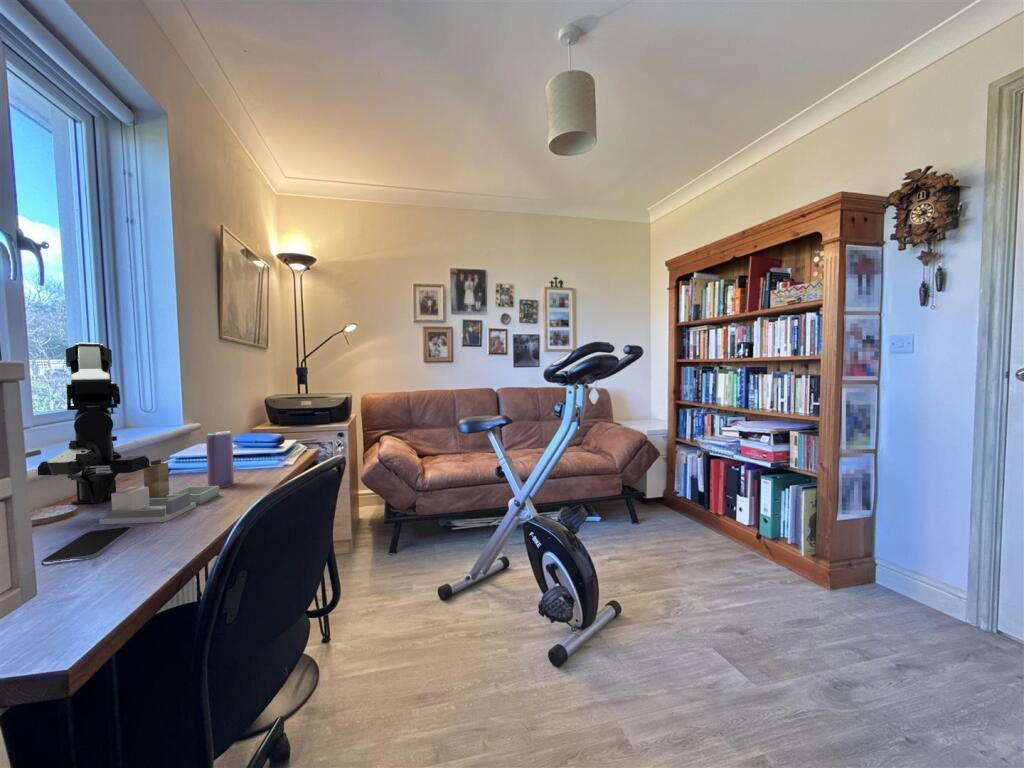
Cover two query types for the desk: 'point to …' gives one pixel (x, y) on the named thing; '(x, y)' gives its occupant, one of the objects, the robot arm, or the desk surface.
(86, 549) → the smartphone
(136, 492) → the breaker
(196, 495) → the holder
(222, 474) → the beverage can
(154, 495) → the tan rectangular block
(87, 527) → the desk surface
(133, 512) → the panel
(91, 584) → the desk surface
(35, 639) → the desk surface
